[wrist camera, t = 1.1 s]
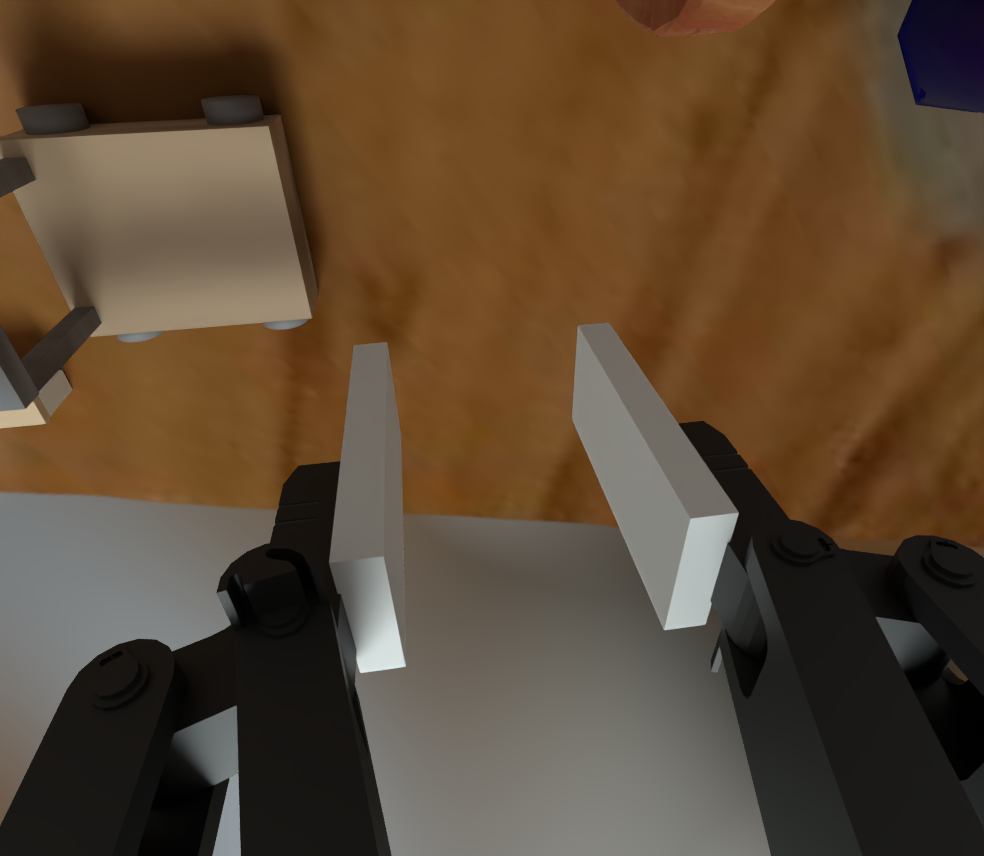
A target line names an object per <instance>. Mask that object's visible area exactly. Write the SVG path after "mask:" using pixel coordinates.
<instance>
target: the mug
mask: <svg viewBox="0 0 984 856" xmlns="http://www.w3.org/2000/svg"><path fill="white" fill-rule="evenodd" d="M617 2H618V4H619V6H620V8H621V10H622V11H623V12H624V13H625V14H626V15H627V17H628V18H629V19H630V20H631V21H632V22H633V24H635V25H636V26H637V27H639V28H640V29H641V30H644V31H648V32H652V33H654V34H655V35H656V36H657V37H681V36H684V35H686V36H695V35H704V34H710V33H712V32H714V33H721V32H731V31H734V30H737V29H740V28H742V27H745V26H746V25H748V24H749V23H750V22H751V21H752V20H754V19H755V18H756V17H757V16H758V15H760V14H761V13H762V12H763V11H764V10H766V9H767V8H768V7H769V6H770V5H771V4H773V3H774V2H775V0H617Z"/></svg>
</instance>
